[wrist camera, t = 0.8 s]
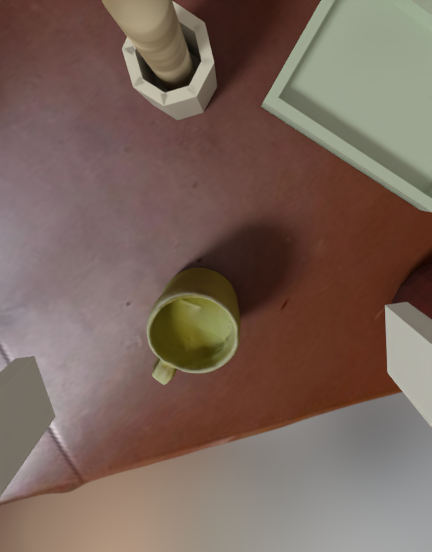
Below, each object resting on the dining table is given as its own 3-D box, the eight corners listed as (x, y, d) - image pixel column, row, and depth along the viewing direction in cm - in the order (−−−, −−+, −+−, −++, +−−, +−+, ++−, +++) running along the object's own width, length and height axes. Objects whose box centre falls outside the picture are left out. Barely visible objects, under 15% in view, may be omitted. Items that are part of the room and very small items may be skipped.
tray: (260, 106, 35) (263, 101, 33) (345, -42, 31) (355, -60, 29) (419, 209, 37) (433, 212, 35) (515, 83, 34) (537, 76, 31)
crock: (136, 94, 35) (111, 73, 28) (167, 28, 33) (149, -15, 26) (193, 130, 36) (184, 119, 28) (227, 67, 34) (226, 37, 27)
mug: (191, 233, 37) (191, 295, 29) (255, 284, 42) (270, 349, 34) (122, 299, 42) (105, 366, 34) (186, 338, 47) (185, 405, 39)
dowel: (158, 86, 34) (86, -1, 17) (173, 53, 33) (115, -73, 16) (186, 104, 35) (145, 37, 17) (202, 72, 34) (176, -32, 16)
